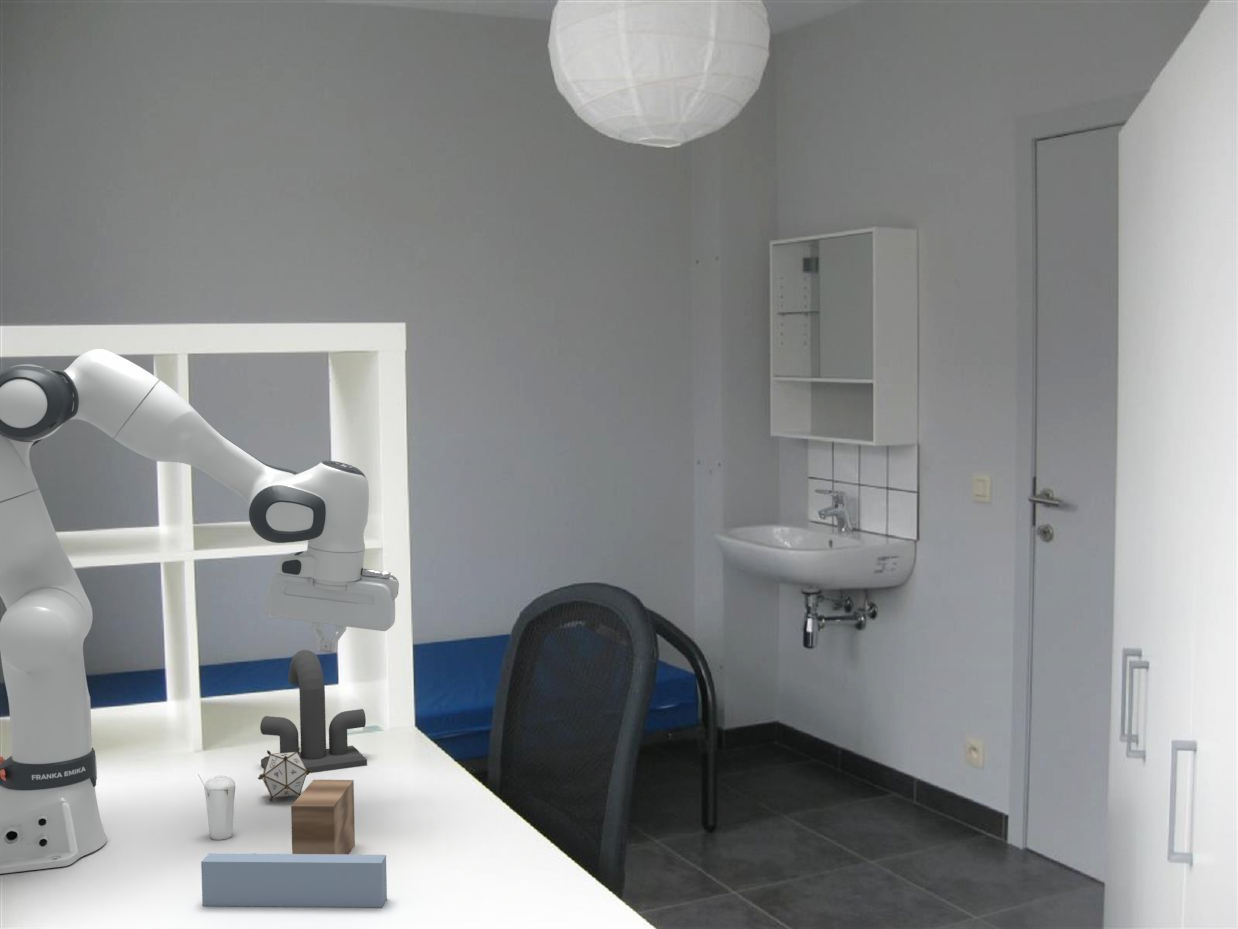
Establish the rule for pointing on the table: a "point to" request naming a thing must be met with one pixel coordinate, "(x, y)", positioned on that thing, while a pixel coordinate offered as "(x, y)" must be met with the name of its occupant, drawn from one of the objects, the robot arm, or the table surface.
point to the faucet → (315, 722)
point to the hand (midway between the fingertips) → (326, 650)
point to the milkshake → (220, 806)
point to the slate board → (294, 880)
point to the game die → (284, 774)
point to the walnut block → (324, 818)
